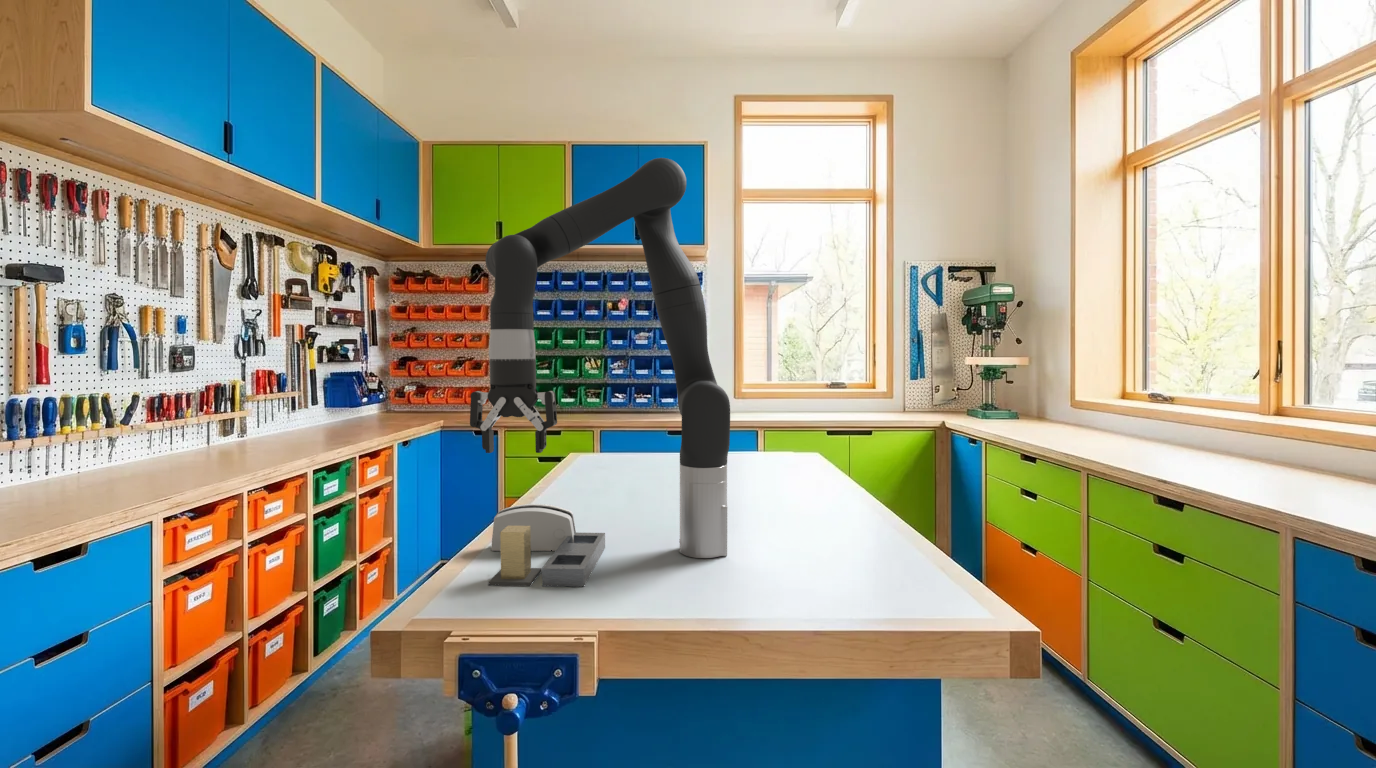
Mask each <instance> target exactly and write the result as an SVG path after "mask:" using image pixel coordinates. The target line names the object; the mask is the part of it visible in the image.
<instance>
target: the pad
mask: <svg viewBox="0 0 1376 768" xmlns="http://www.w3.org/2000/svg"><path fill="white" fill-rule="evenodd" d="M540 572H541V573H542V568H541V567H531V572H530V573H529V574H528V575H527V577H526V578H525V579H501V569H499V570H498V571H497V573H495V574H494V576H493V577H492V578H491V579H489V581H488V586H496V587H497V586H498V587H499V586H502V587H503V586H505V587H507V586H508V587H509V586H510V587H511V586H512V587H513V586H514V587H515V586H516V587H531V586H532V585H533V583H534V582H535V581H536V579H537V578H538V577H539V575H540V574H541V573H540ZM539 573H540V574H539ZM537 576H538V577H537ZM536 577H537V578H536ZM535 578H536V579H535ZM533 581H534V582H533ZM532 582H533V583H532ZM530 585H531V586H530Z"/></svg>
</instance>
